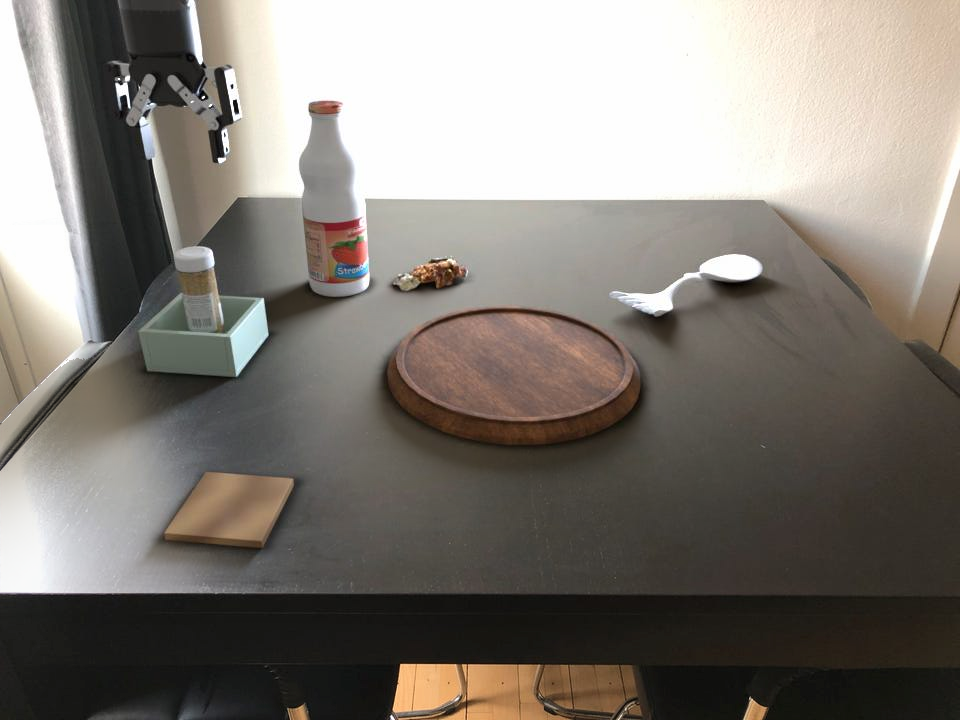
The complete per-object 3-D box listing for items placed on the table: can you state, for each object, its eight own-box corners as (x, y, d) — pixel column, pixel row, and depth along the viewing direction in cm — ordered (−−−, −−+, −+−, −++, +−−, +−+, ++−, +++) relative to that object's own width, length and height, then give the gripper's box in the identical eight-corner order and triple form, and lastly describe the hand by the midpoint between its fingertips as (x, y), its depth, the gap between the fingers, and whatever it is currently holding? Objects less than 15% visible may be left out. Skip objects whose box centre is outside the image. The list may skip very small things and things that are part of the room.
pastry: (387, 283, 119) (386, 262, 118) (448, 266, 126) (448, 246, 124) (411, 297, 115) (411, 276, 113) (473, 280, 121) (473, 259, 119)
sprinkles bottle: (234, 341, 99) (219, 246, 92) (217, 358, 95) (200, 259, 88) (202, 338, 100) (185, 243, 93) (184, 354, 96) (165, 256, 89)
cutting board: (472, 480, 75) (472, 460, 74) (347, 351, 99) (345, 334, 98) (694, 396, 90) (698, 378, 89) (540, 301, 114) (541, 286, 113)
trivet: (165, 541, 67) (163, 533, 66) (207, 479, 75) (205, 471, 74) (262, 549, 66) (261, 541, 66) (294, 486, 74) (293, 478, 74)
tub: (147, 372, 93) (137, 331, 90) (187, 331, 103) (180, 292, 100) (236, 378, 92) (230, 337, 89) (268, 336, 102) (263, 297, 99)
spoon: (605, 311, 112) (607, 290, 110) (724, 262, 130) (727, 243, 129) (653, 332, 106) (657, 310, 104) (770, 278, 124) (775, 258, 123)
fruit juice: (329, 271, 123) (314, 95, 110) (380, 280, 120) (371, 100, 107) (298, 292, 115) (277, 105, 102) (351, 302, 112) (337, 111, 99)
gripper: (237, 4, 80) (255, 155, 88) (111, 0, 81) (140, 149, 89) (208, 9, 74) (231, 171, 82) (72, 4, 75) (107, 165, 83)
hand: (183, 160), depth 85 cm, fingers open, 8 cm apart
